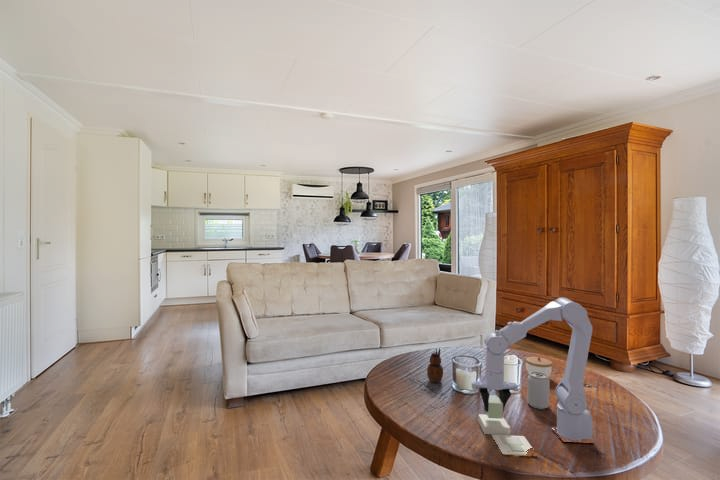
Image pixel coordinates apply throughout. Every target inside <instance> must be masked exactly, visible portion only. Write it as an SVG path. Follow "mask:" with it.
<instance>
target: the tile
mask: <svg viewBox="0 0 720 480" xmlns="http://www.w3.org/2000/svg"><path fill="white" fill-rule="evenodd" d="M491 437H492V439H493V441H494V440H495V441H494V443H495V442H496V443H495V444H497V445H498V447H499V448H498V447H497V448H498V450H499V449H500V450H501V452H502V454H513V455H526V454H527V452H528V451H527V450H528V449H530V448H533V446H532V445H531V444H530V442H529V441H528V439H527V438H526V437H525V436H524V435H511V434H510V435H491ZM497 445H496V446H497ZM500 450H499V451H500ZM508 451H509V452H508ZM526 451H527V452H526ZM501 452H500V453H501ZM502 454H501V455H502Z"/></svg>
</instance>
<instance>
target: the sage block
mask: <svg viewBox="0 0 720 480" xmlns="http://www.w3.org/2000/svg"><path fill="white" fill-rule="evenodd" d="M484 413H485V414H486V415H487V416H488V418H497V419H503V417H504V411H503V403H502V401H501V400H500V399H499V396H497V397H489V402H488V412H486V411H485V410H484Z"/></svg>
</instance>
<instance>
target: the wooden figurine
mask: <svg viewBox="0 0 720 480" xmlns="http://www.w3.org/2000/svg"><path fill="white" fill-rule="evenodd" d="M441 364H442V359H441V347H439V349H437V348H435V351H432V352H431V355H430V357H429V364H428V366H427V368H426V370H427V371H426V372H427V373H426V374H427V378H428V380H429V381H430V382H431V383H435V384H438V383H441V381H442V380H443V376H444V367H443V366H442V365H441Z"/></svg>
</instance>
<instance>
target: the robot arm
mask: <svg viewBox="0 0 720 480" xmlns="http://www.w3.org/2000/svg"><path fill="white" fill-rule="evenodd" d="M563 320H565V322H566V323H567V324H568V325H569V327H570V328H571V336H570V342H569V348H568V354H567V357H566V364H565V369H564V373H563V374H564V375H562V377H561V378H560V379H559V383H558V384H557V386H556V387H555V389H554V392H555V393H554V394H555V396H556V398H557V399H558V402H557V405H556V409H557V410H556V427H551V428H552V429H553V430H555V429H554V428H556V429H557V433H558V434H559V435H560V436H562V437H564V438H567V439H570V440H580V439H592V440H593V439H594V438H593V437H594V436H593V435H594V434H593V432H594V430H593V429H594V427H593V426H594V422H593V418H592V414H591V412H590V411H589V410H587V407H588V406H587V405H588V404H587V400H586V394H587V393H586V389H585V386H584V379H585V373H586V368H587V362H588V357H589V351H590V346H591V340H592V335H593V328H594V327H593V325H592V323H591V321H590V319H589V316H588V310H587V309H585V308H584V307H583V306H582V305H581V303H578V302H575V301H573V300H570V299H569V298H567V297H557V299H555V300H552V301H549V303H547V304H546V305H545V306H543V307H542V308H540V309H539V310H538V311H536V312H534V313H532V314H530V315H529V316H528V317H526V318H525V319H523V320H522V321H513V322H512V321H509V322H507V325H505V326H504V327H502V328H500V329H499V330H498V329H496V330H494V332H491V333H488V334H487V335H486V337H485V339H484V340H483V341H484V345H485V346H486V351H485V353H486V354H485V377H484V378H485V379H484V380H477V381H475V380H474V381H471V389H472V390H475V391H476V390H479V394H480V396H481V399H482V402H483V409H484V412H485V411H486V412H488V402H489V395H491V394H490V393H489V390H497V391H498V397H499V399H500V400H501V401H502V403H503V412H504V410H505V408H506V405H507V403H508V400H509V399H510V398H511V396H512V393H511V391H514V392H518V384H517V383H516V382H508V381H504V380H505V377H504V376H505V355H504V353H505V352H506V350H507V348H509V347H510V346H512V345H514V344H515V343H517V342H519V341H520V340H522V339H525V338H526V337H527V333H528V331H530V330H532V329H534V328H536V327H539V326H540V325H542V324H544V323H546V322H548V321H558V322H563ZM486 412H485V413H486ZM552 429H551V430H552Z"/></svg>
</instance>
